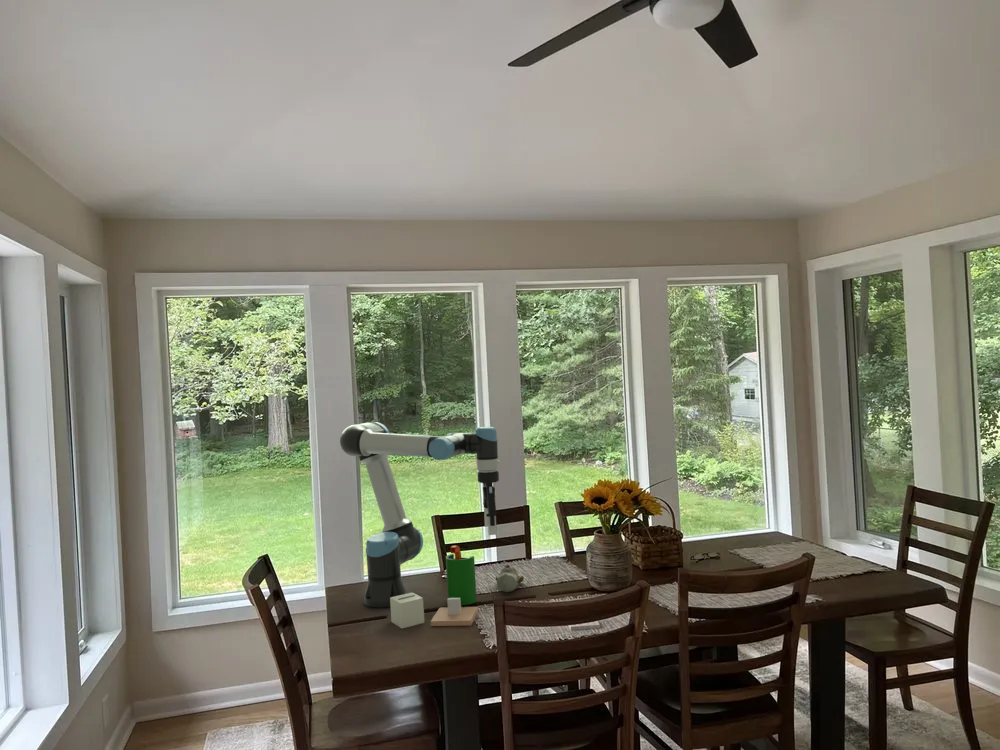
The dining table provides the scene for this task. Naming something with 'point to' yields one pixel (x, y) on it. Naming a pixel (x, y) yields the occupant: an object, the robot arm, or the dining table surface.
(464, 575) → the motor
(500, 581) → the ceramic sculpture
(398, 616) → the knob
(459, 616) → the base
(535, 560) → the dining table surface
